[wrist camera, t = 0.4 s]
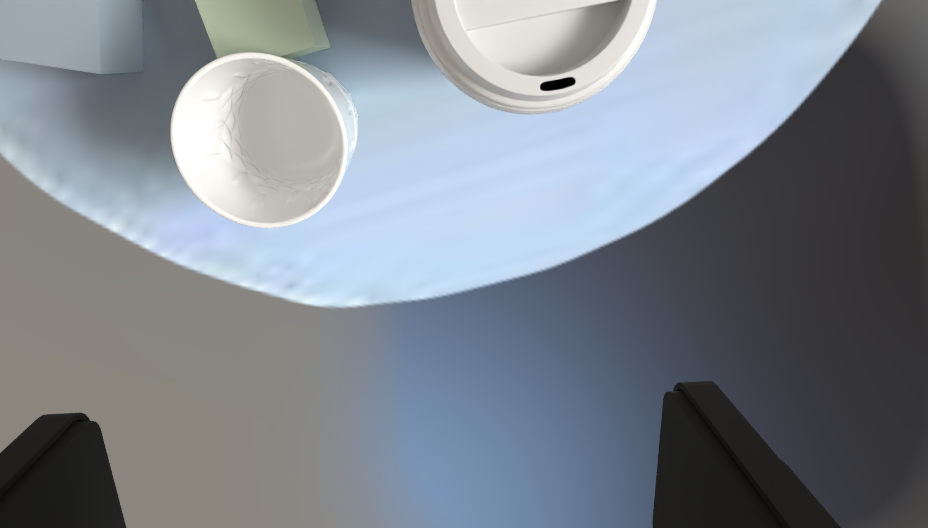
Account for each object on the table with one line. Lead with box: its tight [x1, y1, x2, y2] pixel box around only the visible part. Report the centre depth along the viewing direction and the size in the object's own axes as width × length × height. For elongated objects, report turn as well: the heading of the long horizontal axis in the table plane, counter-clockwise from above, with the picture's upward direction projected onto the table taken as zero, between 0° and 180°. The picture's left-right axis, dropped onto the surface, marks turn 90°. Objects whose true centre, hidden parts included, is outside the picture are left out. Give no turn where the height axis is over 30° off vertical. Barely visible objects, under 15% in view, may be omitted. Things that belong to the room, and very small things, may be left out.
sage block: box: [195, 0, 331, 59], centre depth 33 cm, size 5×5×5 cm
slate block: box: [0, 0, 143, 74], centre depth 33 cm, size 5×5×5 cm
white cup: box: [170, 52, 359, 228], centre depth 33 cm, size 8×8×10 cm
